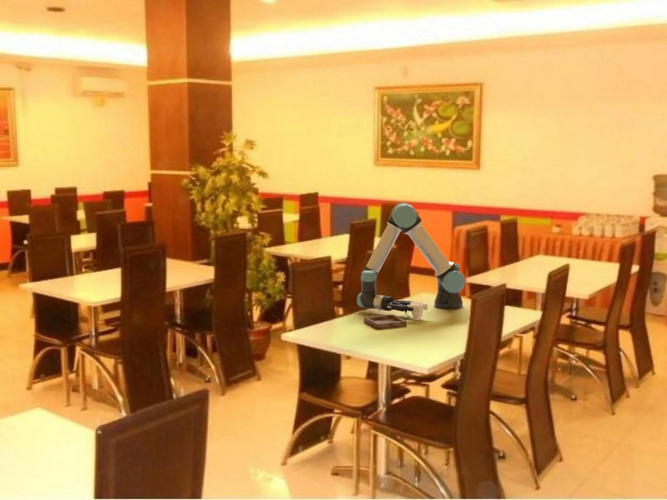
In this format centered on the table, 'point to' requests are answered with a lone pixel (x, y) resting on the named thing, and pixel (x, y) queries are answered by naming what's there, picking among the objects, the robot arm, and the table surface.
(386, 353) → the table surface
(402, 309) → the robot arm
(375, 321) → the tray
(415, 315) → the cup
